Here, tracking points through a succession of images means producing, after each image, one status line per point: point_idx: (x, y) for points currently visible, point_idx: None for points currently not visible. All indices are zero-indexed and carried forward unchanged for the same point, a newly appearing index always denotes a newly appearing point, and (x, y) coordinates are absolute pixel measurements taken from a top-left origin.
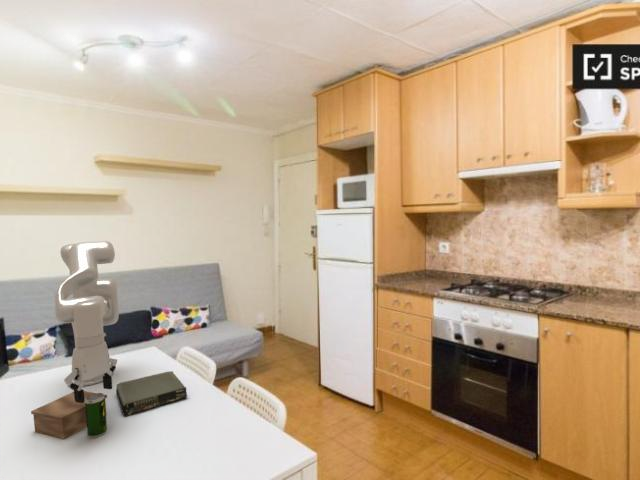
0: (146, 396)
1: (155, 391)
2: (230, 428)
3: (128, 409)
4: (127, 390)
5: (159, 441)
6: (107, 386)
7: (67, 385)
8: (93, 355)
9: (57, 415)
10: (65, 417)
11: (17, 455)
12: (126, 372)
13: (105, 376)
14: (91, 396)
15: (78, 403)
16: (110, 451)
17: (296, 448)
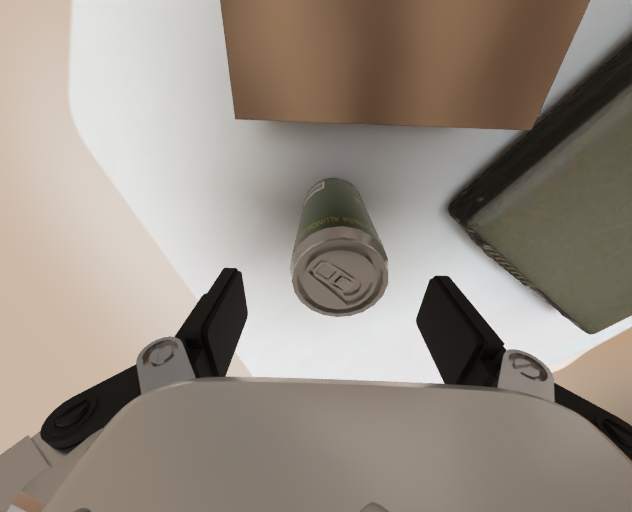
0: (536, 263)
1: (583, 267)
2: None
3: (463, 226)
4: None
5: (340, 353)
6: (427, 318)
7: (49, 415)
8: None
9: (241, 52)
10: (259, 119)
11: (116, 19)
12: None
13: (475, 369)
14: (336, 264)
15: (408, 28)
16: (279, 298)
17: None
